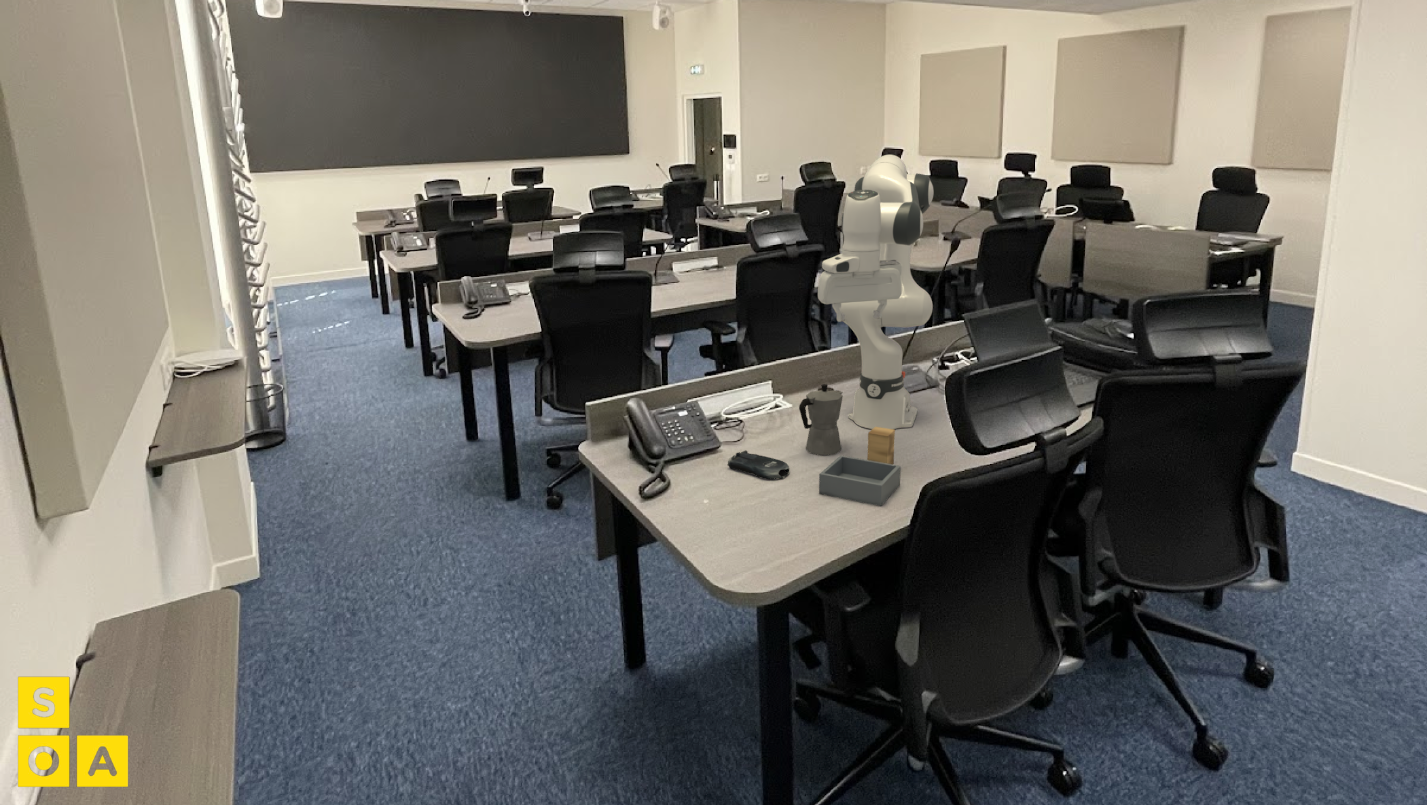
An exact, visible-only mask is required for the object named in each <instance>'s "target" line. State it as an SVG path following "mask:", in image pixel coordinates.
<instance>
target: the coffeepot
mask: <svg viewBox="0 0 1427 805" xmlns="http://www.w3.org/2000/svg"><path fill="white" fill-rule="evenodd" d="M820 387H821V389H820V390H812V391H810V392H808V393H807V394H806V395H805V397H806V398H803V399H802V400H801V403H800V404H799V405H798V409H799V413H800V417H801V421H802V424H803V426H804V427H803V428H804V429H805V430H806V429H807V430H808V429H809V430H808V433H807V440H806V445H805V449H806V451H807V452H808V453H809V454H812V455H816V456H821V457H822V456H823V457H825V456H833V455H837V454H839V453H840V451H841V450H842V445H841V438H840V431H839V426H837V425H838V421H839V419H840V414H841V408H842V403H843V402H842V401H843V398H844V396H843V395H842V394H844V392H843V391H841V390H838V389H837V390H828V384H827V383H822V384H821V386H820ZM806 407H807V409H806ZM806 410H808V416H807V411H806ZM808 417H809V419H808ZM808 420H810V424H809V423H808Z"/></svg>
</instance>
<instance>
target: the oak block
mask: <svg viewBox="0 0 1427 805" xmlns="http://www.w3.org/2000/svg"><path fill="white" fill-rule="evenodd" d="M895 438H896V430H895V429H887V428H881V427H874V428H873V429H870V430H869V432H868V434H867V457H866V458H867V459H866V460H871V461H876V462H882V463H888V464H893V465H895V464H894V459H895V458H894V457H895Z"/></svg>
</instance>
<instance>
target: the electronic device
mask: <svg viewBox="0 0 1427 805" xmlns="http://www.w3.org/2000/svg"><path fill="white" fill-rule="evenodd" d="M727 467H729V468H730V469H732V470H736V471H739V472H743V473H746V474H751V475H754V476H756V477H758V478H761V479H763V480H764V479H766V480H772V481H773V480H780V479H785V478H786V477H787V476H788V475H789V473H790V466H789V464H787V463H786V462H785V461H783V460H780V459H776V458H773V457H769V456H765V455H761V454H756V453H749V452H748V450H743V451H741V452H736V453H735V454H734V455H733V456H731V457H729V459H728V460H727ZM781 470H783V471H784V472H785V475H783V476H781V475H780V471H781Z"/></svg>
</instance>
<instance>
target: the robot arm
mask: <svg viewBox="0 0 1427 805" xmlns="http://www.w3.org/2000/svg"><path fill="white" fill-rule="evenodd" d="M907 171H908V170H907V167H906V164H905V162H904V161H903V159H901V158H900V157H899V156H897V155H894V154H885V155H881V156H880V157H878V158H877V159H876V160H874V161H873V162H872V163H871V165H870V166H869V167H868V169H867V170H866V173H865V175H864V176H862V177H860V178H859V179H858V180H857V181H856V182H855V184H854V188H853V191H850V192H849V193H848V194H847V195H846V197H845V202H844V206H843V207H844V208H843V213H842V215H841V234H842V236H843V244H842V249H841V253H840V254H837V255H835V256H833V257H830V258H827V259H824V260H823V261H822V263H821V268H822V269H823V270H824V271H822V272H821V274H820V276H819V279H818V286H817V287H818V288H817V299H818V300H819V301H820V303H821V304H824V305H832V309H833V310H834V312H835V314H836V321H837V322H838V323H839V322H840V323H841V322H843V323H844V324H846V325H847V326H848V328H850V329H851V330H852V331H853V333H854V335H855V336H856V338H857V339H858V342H859V345H860V353H861V372H860V374H859V380H858V381H859V388H858V389H857V390H856V391H855V392H854V398H853V408H852V409H853V410H852V412H849V413H848V419H850V420H852V421H854V423H855V424H856V425H857V426H858V427H862V428H866V429H869V430H872V429H873V428H874V427H881V428H887V429H894V430H895V429H900V428H901V429H902V428H912V427H913V426H914V423H915V419H916V417H917V416H918V415H917V414H918V407H917V408H916V407H915V406H912V405H911V394H910V392H908V391H909V390H907V389H906V388H905V386H904V385H905V384H904V383H905V382H904V381H905V380H904V379H905V377H906V371H904V370H903V349H902V346H901V345H900V344H899V343H898V341H896V340H894V339H892V338H891V337H890V336H888V335H886V334H884V332H883V330H882V328H883V327H886V328H888V327H890V328H912V327H913V328H914V327H920V326H924V325H925V324H926V323H927V322H928V321H929V320H930V318H931V316H932V314H933V307H934V305H933V301H932V298H931V295H930V294H929V293H928V292H927V291H926V290H925V289H924V288H922V287H921V286H919V284H917V282H916V281H915V280H914V278H913V275H912V272H911V253H912V246H913V244H914V243H916V241H918V240H919V239H920V238H921V235H922V233H923V229H924V216H923V214H925V213H926V212H927V210H929V208H930V206H931V203H932V201H933V198H934V195H935V194H934V185H933V183H932V181H931V178H930V177H929V175H928V174H923V173H914V174H912V173H908V172H907Z"/></svg>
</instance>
